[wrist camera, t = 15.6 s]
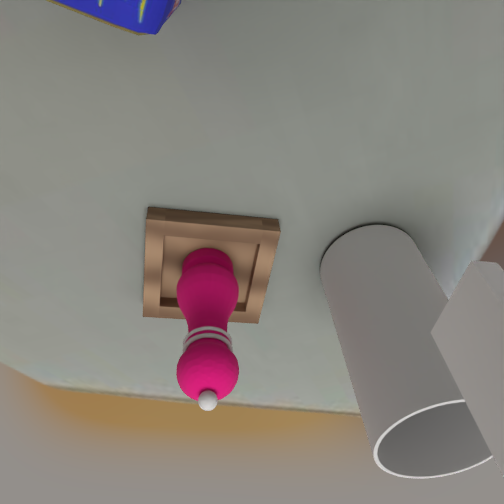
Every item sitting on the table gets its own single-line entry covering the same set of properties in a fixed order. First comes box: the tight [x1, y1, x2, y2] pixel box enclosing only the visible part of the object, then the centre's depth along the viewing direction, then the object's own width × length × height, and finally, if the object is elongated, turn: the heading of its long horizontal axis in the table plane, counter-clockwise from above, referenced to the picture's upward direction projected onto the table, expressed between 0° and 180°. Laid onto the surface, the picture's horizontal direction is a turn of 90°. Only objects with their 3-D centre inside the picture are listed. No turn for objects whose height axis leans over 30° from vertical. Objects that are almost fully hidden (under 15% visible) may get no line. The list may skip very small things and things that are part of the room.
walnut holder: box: [143, 207, 281, 324], centre depth 57 cm, size 15×15×2 cm
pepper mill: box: [176, 248, 239, 411], centre depth 50 cm, size 7×7×20 cm
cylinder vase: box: [320, 225, 493, 478], centre depth 50 cm, size 12×12×25 cm
